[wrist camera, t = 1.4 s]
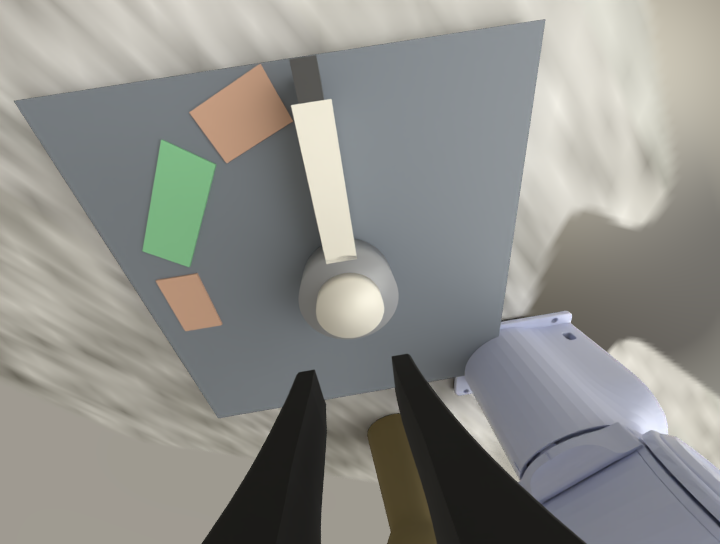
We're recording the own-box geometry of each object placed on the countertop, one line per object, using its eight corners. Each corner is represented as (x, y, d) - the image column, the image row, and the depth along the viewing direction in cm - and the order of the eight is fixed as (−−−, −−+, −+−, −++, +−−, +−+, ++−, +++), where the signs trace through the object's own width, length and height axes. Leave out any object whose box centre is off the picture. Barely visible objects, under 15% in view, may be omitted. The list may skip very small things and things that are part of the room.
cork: (361, 447, 29) (376, 608, 19) (375, 411, 26) (401, 577, 16) (413, 449, 30) (452, 602, 20) (432, 415, 27) (487, 572, 17)
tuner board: (528, 28, 13) (547, 17, 12) (486, 360, 24) (494, 371, 23) (40, 103, 13) (10, 100, 11) (223, 405, 24) (217, 420, 22)
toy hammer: (393, 307, 18) (405, 342, 15) (313, 320, 18) (309, 358, 15) (369, 61, 12) (382, 36, 9) (246, 80, 12) (215, 62, 9)
